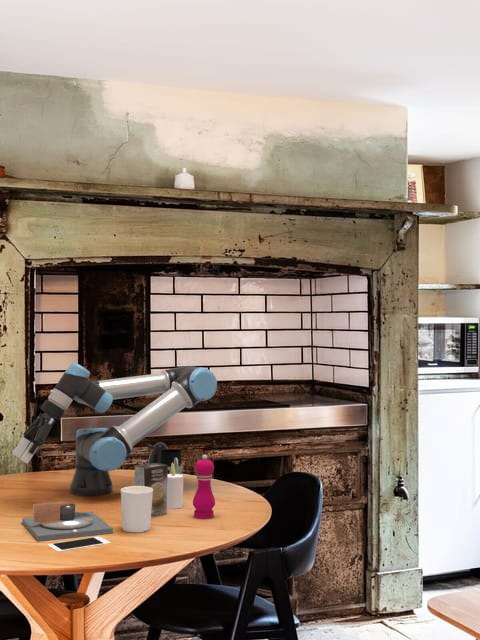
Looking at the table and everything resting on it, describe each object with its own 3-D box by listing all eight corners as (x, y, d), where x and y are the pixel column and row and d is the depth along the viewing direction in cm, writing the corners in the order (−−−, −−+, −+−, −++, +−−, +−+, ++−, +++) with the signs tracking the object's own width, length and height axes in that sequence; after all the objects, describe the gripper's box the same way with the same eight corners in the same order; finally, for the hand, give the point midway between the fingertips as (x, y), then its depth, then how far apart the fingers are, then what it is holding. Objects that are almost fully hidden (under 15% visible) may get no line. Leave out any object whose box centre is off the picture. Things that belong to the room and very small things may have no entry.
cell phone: (111, 544, 231) (111, 542, 231) (57, 553, 222) (57, 551, 222) (99, 538, 238) (99, 536, 238) (46, 546, 228) (46, 544, 228)
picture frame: (179, 488, 304) (179, 448, 304) (188, 497, 291) (189, 455, 290) (156, 489, 301) (156, 449, 301) (164, 498, 288) (165, 455, 288)
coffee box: (145, 518, 259) (145, 468, 259) (132, 514, 264) (133, 465, 264) (167, 514, 266) (168, 464, 265) (155, 510, 270) (156, 462, 270)
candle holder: (138, 535, 240) (139, 494, 240) (113, 529, 245) (113, 490, 245) (159, 528, 248) (159, 488, 248) (134, 523, 254) (134, 484, 253)
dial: (85, 513, 257) (85, 494, 257) (100, 526, 243) (100, 505, 243) (27, 519, 249) (27, 499, 249) (39, 532, 235) (39, 510, 235)
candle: (187, 506, 276) (187, 462, 276) (172, 509, 271) (173, 464, 271) (174, 503, 280) (175, 459, 280) (160, 506, 276) (161, 462, 275)
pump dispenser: (149, 478, 322) (150, 439, 322) (175, 479, 320) (176, 440, 320) (143, 483, 312) (143, 443, 312) (169, 484, 310) (170, 445, 310)
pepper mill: (218, 514, 266) (219, 453, 265) (210, 520, 259) (211, 457, 259) (197, 512, 268) (198, 452, 268) (189, 517, 261) (190, 455, 261)
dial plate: (91, 516, 261) (91, 511, 261) (112, 533, 241) (112, 527, 241) (22, 522, 251) (22, 517, 251) (38, 541, 232) (38, 535, 232)
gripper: (39, 395, 287) (3, 447, 281) (55, 401, 264) (17, 458, 259) (56, 407, 289) (21, 458, 284) (74, 414, 267) (36, 470, 261)
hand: (19, 458), depth 271 cm, fingers open, 13 cm apart
